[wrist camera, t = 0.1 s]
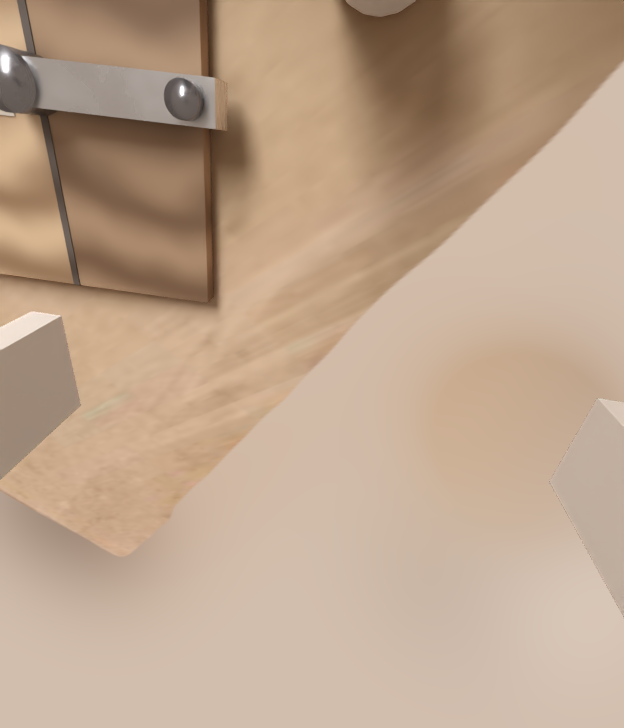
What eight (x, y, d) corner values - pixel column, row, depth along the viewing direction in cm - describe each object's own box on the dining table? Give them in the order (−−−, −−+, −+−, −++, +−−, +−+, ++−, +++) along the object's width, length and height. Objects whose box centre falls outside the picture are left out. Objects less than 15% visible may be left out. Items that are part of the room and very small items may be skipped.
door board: (-262, -249, 25) (-382, -325, 21) (202, -213, 24) (169, -286, 20) (-72, 257, 41) (-119, 269, 37) (213, 297, 39) (196, 314, 35)
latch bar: (19, 112, 32) (-22, 109, 28) (5, 49, 30) (-41, 37, 26) (227, 137, 31) (210, 137, 27) (227, 75, 29) (209, 65, 25)
